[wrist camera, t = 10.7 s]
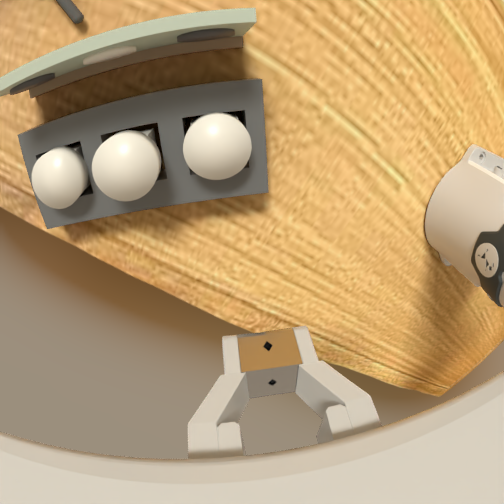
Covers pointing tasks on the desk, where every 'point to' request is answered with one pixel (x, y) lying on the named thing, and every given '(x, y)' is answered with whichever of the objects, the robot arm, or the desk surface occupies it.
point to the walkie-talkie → (71, 10)
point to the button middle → (127, 164)
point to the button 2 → (217, 146)
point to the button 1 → (60, 176)
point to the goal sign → (131, 48)
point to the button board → (172, 138)
